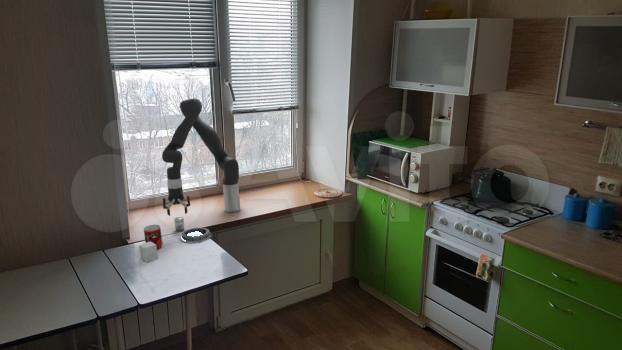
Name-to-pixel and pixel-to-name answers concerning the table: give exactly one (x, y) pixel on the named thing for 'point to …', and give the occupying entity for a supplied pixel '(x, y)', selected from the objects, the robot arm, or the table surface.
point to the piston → (179, 224)
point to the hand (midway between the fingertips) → (177, 214)
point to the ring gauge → (200, 238)
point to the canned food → (153, 235)
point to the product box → (148, 251)
